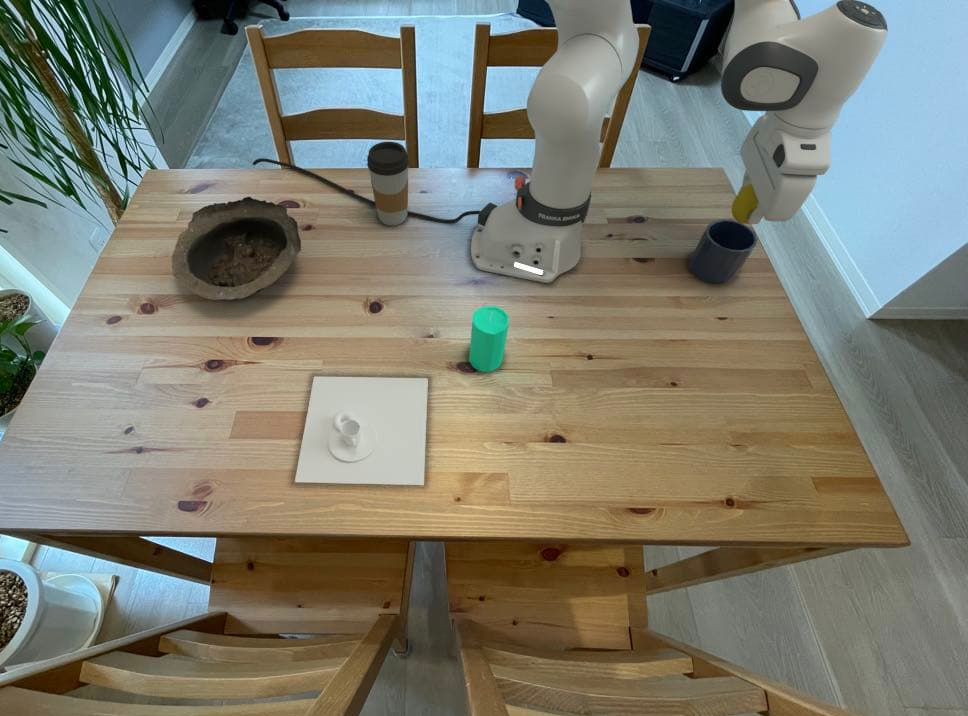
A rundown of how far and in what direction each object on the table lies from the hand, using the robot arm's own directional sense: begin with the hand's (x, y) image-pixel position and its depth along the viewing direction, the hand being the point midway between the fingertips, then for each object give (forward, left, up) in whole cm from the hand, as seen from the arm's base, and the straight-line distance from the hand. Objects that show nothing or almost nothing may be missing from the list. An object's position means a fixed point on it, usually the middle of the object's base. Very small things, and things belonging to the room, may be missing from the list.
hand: (747, 209), depth 91 cm
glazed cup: (0, 0, -14) cm, 14 cm away
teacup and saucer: (-63, -43, -14) cm, 78 cm away
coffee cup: (-66, +10, -14) cm, 68 cm away
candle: (-44, -27, -14) cm, 53 cm away
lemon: (0, 0, -3) cm, 3 cm away
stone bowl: (-93, -10, -14) cm, 95 cm away
